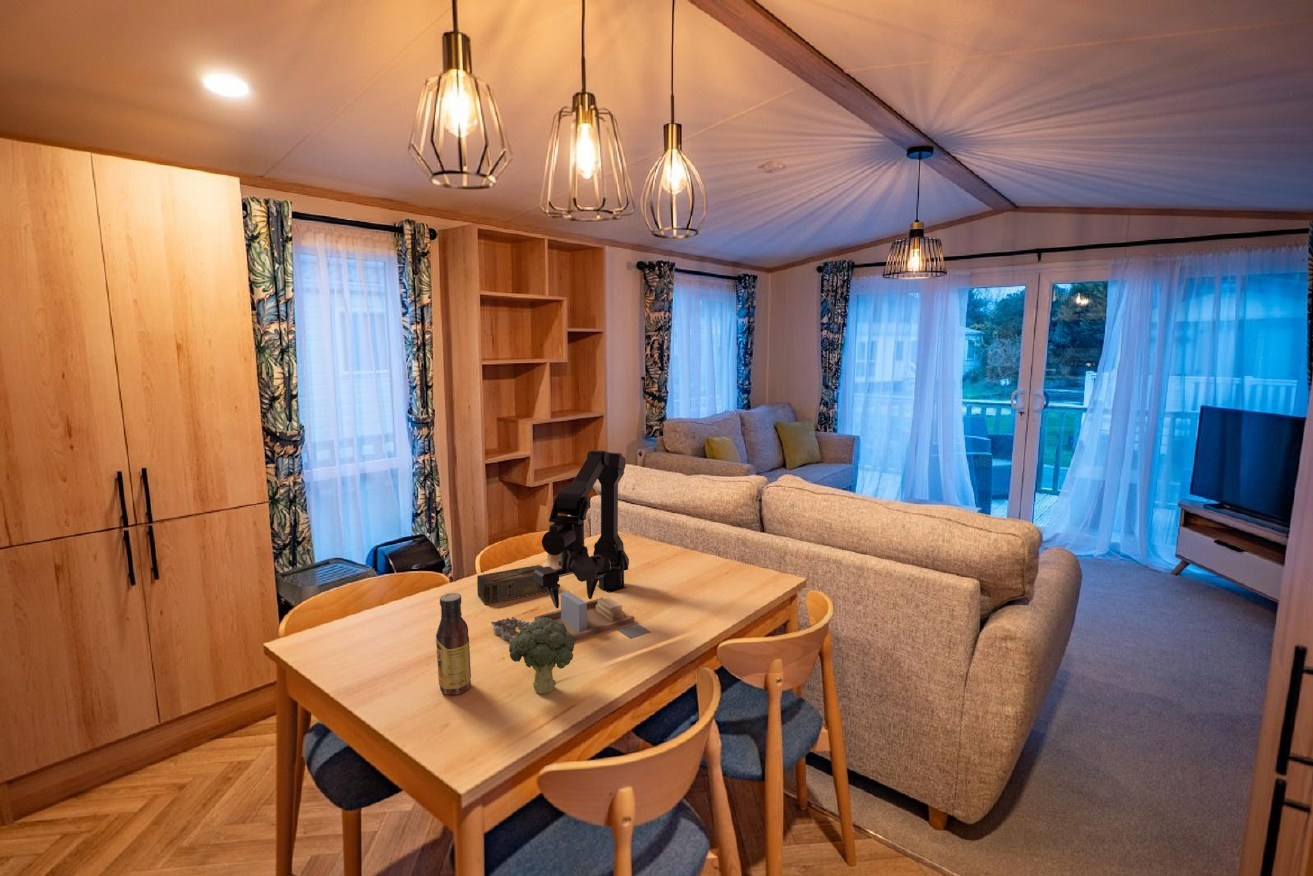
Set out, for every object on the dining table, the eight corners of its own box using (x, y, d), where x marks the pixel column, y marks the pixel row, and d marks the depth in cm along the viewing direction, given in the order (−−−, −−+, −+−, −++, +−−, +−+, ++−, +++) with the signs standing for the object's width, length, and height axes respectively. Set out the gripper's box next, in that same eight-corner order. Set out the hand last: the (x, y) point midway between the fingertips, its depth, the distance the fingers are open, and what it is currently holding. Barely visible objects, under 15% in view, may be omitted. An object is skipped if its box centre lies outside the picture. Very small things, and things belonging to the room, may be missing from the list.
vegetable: (579, 701, 120) (578, 629, 117) (512, 712, 116) (509, 637, 114) (570, 670, 131) (568, 603, 129) (508, 679, 127) (506, 611, 125)
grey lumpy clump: (540, 641, 145) (540, 624, 144) (512, 651, 140) (511, 634, 139) (517, 626, 153) (516, 610, 152) (489, 635, 147) (488, 619, 147)
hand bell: (568, 562, 197) (567, 514, 195) (569, 571, 189) (568, 521, 187) (542, 564, 196) (540, 515, 194) (541, 573, 188) (540, 522, 186)
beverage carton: (551, 592, 174) (551, 569, 173) (484, 607, 164) (483, 583, 163) (541, 583, 180) (540, 561, 180) (475, 597, 170) (474, 574, 169)
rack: (602, 604, 165) (602, 597, 165) (634, 623, 153) (634, 617, 153) (534, 623, 153) (534, 617, 153) (563, 647, 141) (563, 639, 141)
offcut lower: (607, 607, 162) (607, 601, 162) (624, 617, 156) (624, 611, 155) (595, 610, 160) (595, 604, 160) (612, 621, 153) (612, 615, 153)
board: (568, 617, 156) (568, 591, 155) (587, 630, 148) (586, 602, 147) (561, 619, 154) (560, 593, 153) (579, 632, 147) (578, 605, 146)
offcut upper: (609, 602, 161) (609, 597, 161) (621, 610, 156) (621, 605, 156) (597, 606, 159) (597, 600, 159) (610, 614, 154) (610, 608, 154)
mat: (636, 625, 153) (636, 623, 152) (651, 634, 148) (651, 631, 148) (616, 631, 149) (616, 629, 149) (630, 641, 144) (630, 638, 144)
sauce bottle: (443, 680, 127) (438, 589, 124) (474, 679, 127) (470, 588, 124) (435, 698, 120) (429, 602, 117) (467, 697, 121) (463, 601, 118)
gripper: (553, 559, 136) (555, 625, 139) (623, 543, 148) (623, 604, 150) (531, 546, 145) (533, 608, 148) (598, 532, 156) (599, 590, 159)
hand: (573, 603), depth 151 cm, fingers open, 9 cm apart
